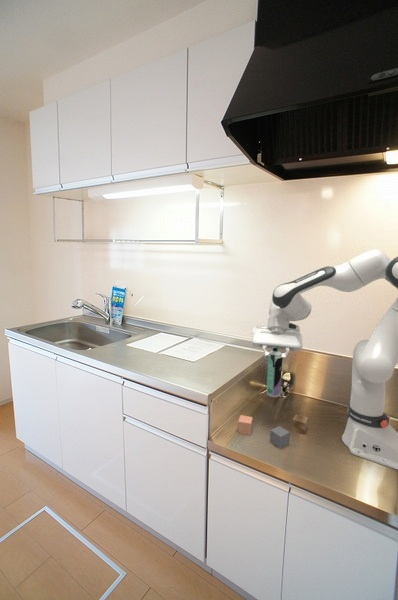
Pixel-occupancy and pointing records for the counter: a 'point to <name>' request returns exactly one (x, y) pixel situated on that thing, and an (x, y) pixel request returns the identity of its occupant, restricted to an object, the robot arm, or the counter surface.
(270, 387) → the spray can
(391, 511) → the counter surface
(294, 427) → the walnut block
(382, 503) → the counter surface
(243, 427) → the terracotta block
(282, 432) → the charcoal block
